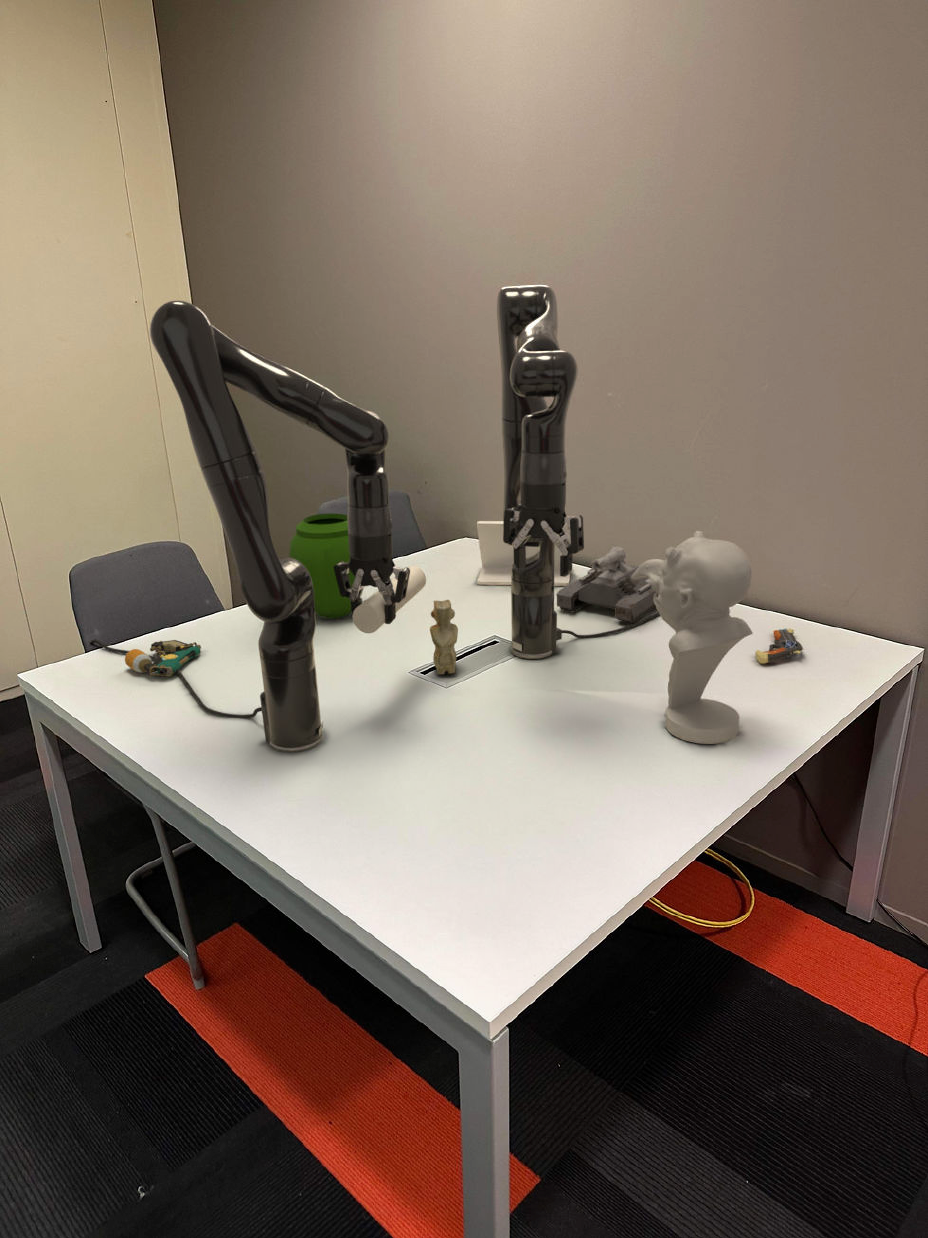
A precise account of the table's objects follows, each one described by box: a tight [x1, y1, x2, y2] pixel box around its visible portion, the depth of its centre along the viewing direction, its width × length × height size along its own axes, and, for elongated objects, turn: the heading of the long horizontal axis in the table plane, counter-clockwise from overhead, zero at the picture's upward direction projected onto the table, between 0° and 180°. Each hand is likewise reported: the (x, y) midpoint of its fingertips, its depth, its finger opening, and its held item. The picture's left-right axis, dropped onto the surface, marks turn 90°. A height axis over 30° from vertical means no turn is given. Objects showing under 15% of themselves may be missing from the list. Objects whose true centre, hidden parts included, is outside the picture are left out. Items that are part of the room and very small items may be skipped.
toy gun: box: [754, 628, 805, 664], centre depth 185 cm, size 3×19×10 cm
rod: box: [352, 565, 427, 634], centre depth 160 cm, size 24×5×5 cm, turn 162°
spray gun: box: [124, 639, 202, 677], centre depth 186 cm, size 4×17×15 cm
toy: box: [556, 546, 656, 624], centre depth 212 cm, size 25×20×15 cm
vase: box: [288, 512, 365, 620], centre depth 209 cm, size 20×20×24 cm
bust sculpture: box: [631, 530, 754, 745], centre depth 151 cm, size 16×24×35 cm, turn 28°
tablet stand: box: [476, 520, 571, 587], centre depth 236 cm, size 18×25×17 cm
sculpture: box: [429, 599, 459, 675], centre depth 177 cm, size 6×7×15 cm
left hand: (374, 620), depth 153 cm, fingers closed on rod, 5 cm apart
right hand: (542, 571), depth 146 cm, fingers open, 8 cm apart
